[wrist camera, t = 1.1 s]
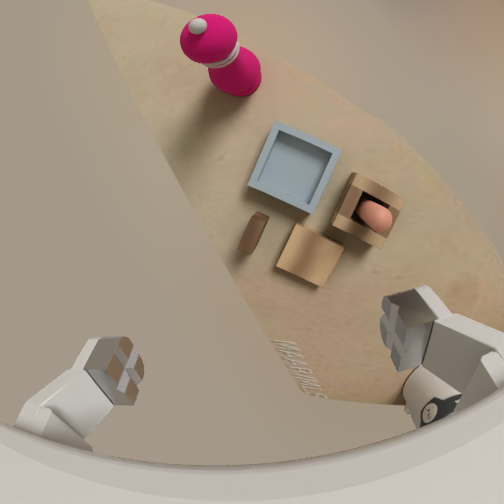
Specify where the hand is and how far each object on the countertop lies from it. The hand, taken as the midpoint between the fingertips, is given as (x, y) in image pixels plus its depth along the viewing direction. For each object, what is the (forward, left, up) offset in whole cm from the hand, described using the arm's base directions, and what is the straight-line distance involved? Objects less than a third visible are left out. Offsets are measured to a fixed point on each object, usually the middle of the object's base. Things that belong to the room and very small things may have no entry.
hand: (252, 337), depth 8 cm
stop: (+4, +6, -36) cm, 37 cm away
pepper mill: (+15, -15, -36) cm, 42 cm away
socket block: (-10, -4, -36) cm, 37 cm away
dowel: (-10, -4, -36) cm, 37 cm away
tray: (+2, -5, -36) cm, 36 cm away
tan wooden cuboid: (-5, +6, -36) cm, 37 cm away
